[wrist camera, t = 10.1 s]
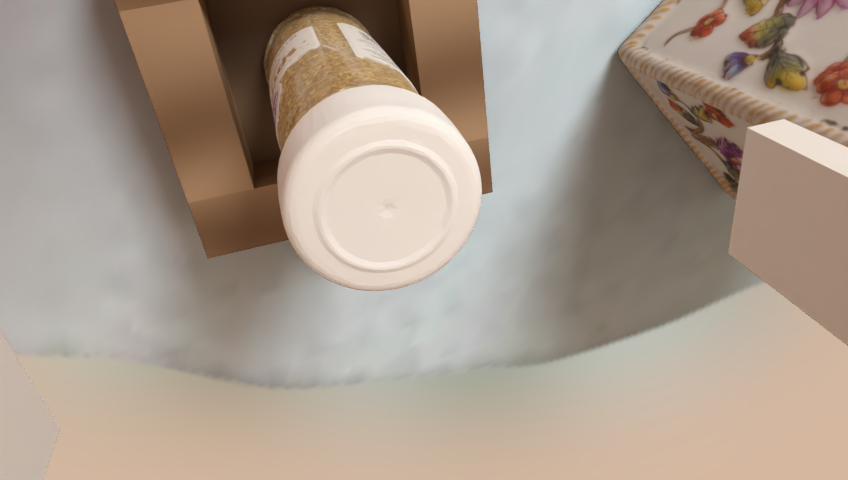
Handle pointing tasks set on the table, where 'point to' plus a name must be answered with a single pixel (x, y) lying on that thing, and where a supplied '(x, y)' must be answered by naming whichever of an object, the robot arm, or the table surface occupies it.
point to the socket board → (250, 98)
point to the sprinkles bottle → (364, 158)
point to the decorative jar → (743, 71)
